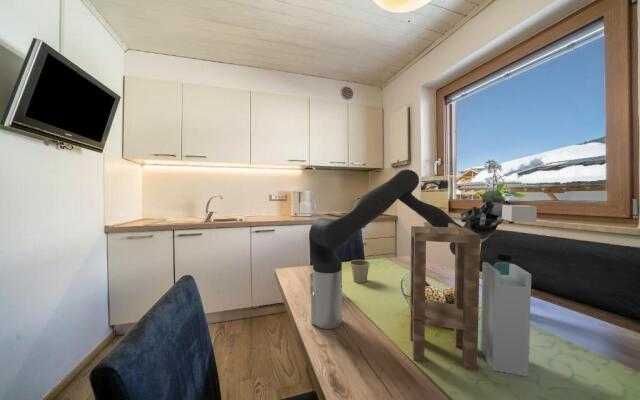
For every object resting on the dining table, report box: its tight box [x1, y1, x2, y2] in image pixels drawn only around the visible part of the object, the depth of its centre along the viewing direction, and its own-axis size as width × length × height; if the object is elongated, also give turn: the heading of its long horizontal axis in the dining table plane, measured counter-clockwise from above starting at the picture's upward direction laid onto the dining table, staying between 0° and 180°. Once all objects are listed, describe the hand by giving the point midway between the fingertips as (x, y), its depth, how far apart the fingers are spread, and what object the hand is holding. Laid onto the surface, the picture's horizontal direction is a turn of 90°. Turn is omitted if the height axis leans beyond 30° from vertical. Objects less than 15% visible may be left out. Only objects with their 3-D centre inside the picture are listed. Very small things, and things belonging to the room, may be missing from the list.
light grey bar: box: [481, 201, 538, 223], centre depth 62 cm, size 4×20×3 cm, turn 165°
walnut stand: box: [409, 221, 481, 372], centre depth 65 cm, size 14×11×33 cm
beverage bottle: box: [493, 252, 513, 275], centre depth 87 cm, size 6×7×20 cm
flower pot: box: [349, 259, 371, 284], centre depth 116 cm, size 9×9×9 cm
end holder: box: [480, 261, 532, 378], centre depth 61 cm, size 7×8×24 cm
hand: (498, 203), depth 64 cm, fingers closed on light grey bar, 3 cm apart
